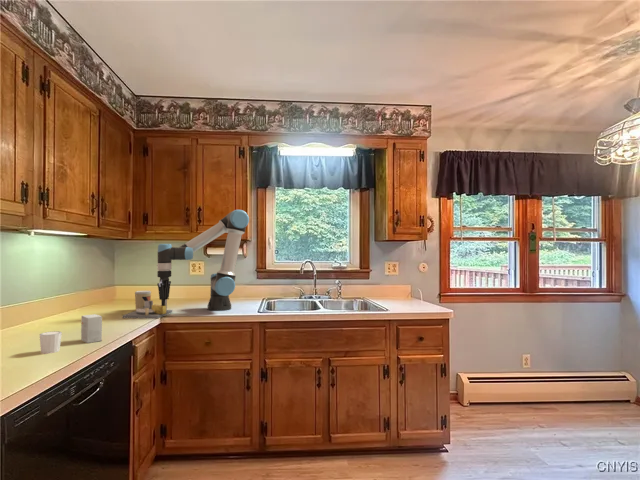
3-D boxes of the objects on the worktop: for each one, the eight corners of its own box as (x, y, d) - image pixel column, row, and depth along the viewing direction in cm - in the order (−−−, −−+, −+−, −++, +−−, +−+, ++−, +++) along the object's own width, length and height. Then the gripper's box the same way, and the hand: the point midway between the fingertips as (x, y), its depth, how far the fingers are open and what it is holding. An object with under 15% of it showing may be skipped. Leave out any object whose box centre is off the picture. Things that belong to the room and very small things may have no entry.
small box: (101, 341, 158) (102, 316, 158) (86, 343, 154) (87, 317, 154) (95, 338, 163) (95, 313, 163) (80, 340, 159) (81, 315, 159)
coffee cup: (144, 312, 229) (144, 292, 229) (131, 311, 231) (131, 291, 231) (154, 309, 238) (154, 290, 238) (141, 309, 240) (141, 290, 240)
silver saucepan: (131, 312, 216) (131, 301, 216) (150, 309, 228) (150, 299, 228) (155, 315, 207) (155, 304, 208) (173, 312, 219) (173, 301, 219)
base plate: (172, 312, 229) (172, 303, 229) (157, 318, 209) (158, 308, 209) (140, 311, 229) (140, 303, 229) (122, 318, 209) (122, 308, 209)
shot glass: (38, 355, 137) (39, 336, 137) (39, 350, 142) (39, 332, 142) (61, 352, 141) (62, 333, 141) (61, 348, 146) (61, 330, 146)
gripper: (163, 269, 224) (162, 308, 223) (152, 271, 211) (152, 312, 211) (175, 269, 223) (175, 308, 223) (165, 271, 211) (165, 312, 210)
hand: (164, 310), depth 217 cm, fingers closed
